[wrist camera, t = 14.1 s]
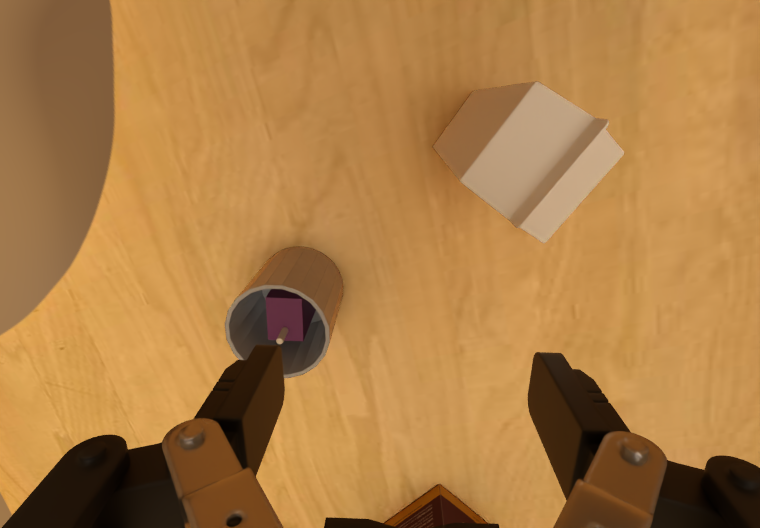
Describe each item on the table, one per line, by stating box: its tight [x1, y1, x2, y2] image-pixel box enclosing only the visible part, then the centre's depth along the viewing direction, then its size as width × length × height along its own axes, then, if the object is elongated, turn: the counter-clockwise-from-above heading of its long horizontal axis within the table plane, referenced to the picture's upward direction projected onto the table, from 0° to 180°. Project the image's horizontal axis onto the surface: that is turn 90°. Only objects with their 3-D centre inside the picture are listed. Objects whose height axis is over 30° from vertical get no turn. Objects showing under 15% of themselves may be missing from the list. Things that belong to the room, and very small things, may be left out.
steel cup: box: [225, 247, 343, 378], centre depth 41 cm, size 9×9×10 cm
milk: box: [433, 81, 624, 243], centre depth 30 cm, size 6×6×22 cm
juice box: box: [266, 289, 316, 344], centre depth 41 cm, size 4×3×9 cm
